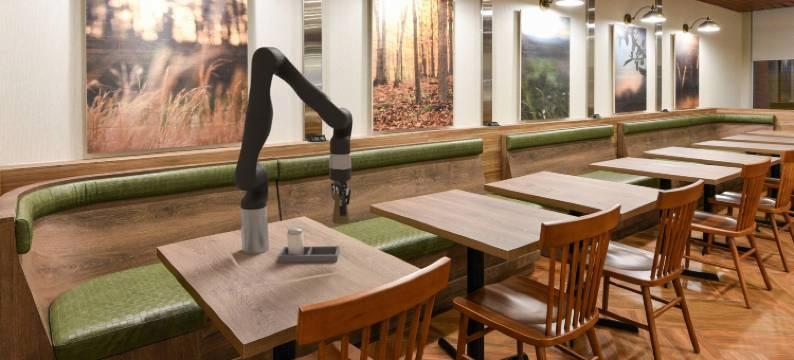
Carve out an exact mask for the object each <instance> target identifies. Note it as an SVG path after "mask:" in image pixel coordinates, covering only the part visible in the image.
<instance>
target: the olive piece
mask: <svg viewBox="0 0 794 360" xmlns="http://www.w3.org/2000/svg"><path fill="white" fill-rule="evenodd" d="M340 196H341V197H342V195H340ZM333 198H334V199H333V201H334V200H335V202H334V204H333V212H332V213H333V214H332V221H331V223H333V224H337V225H342V224H343V225H345V224H348V223H350V215H349V209H348V205H346V216H340V203H339V199H338V195H337V191H336V192H334V194H333ZM344 201H345V200H344Z"/></svg>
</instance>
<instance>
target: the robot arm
mask: <svg viewBox="0 0 794 360" xmlns="http://www.w3.org/2000/svg"><path fill="white" fill-rule="evenodd" d="M250 65H251V66H250V85H249V93H248V99H247V106H246V111H245V117H244V124H243V126H244V127H243V134H242V139H241V145H240V150H239V155H238V159H237V162H236V167H235V171H234V183H235V186H236V187H237V188H238V189H239V190H240V191H243V192H245V195H244V196H243V197H242V198H241V199H240V214H241V215H240V217H241V226H240V231H241V248H242V249H241V250H242V251H243V253H244V254H245V255H248V254H249V255H257V254H263V253H266V252H269V250H270V243H269V242H270V241H269V226H268V210H267V208H268V207H267V202H268V199H269V174H268V170H267V168H266V167H265V165H264V164H262V163H261V162H258V160H259V156H260V153H261V152H262V149H263V147H264V146H265V144H266V142H267V140H268V138H269V136H270V134H271V130H272V125H273V118H274V108H273V103H272V101H273V100H272V96H271V88H272V83H273V76H274V75H275V76H276V77H278V78H279V79H281V80H282V81H284V82H285V83H286V84H287V85H289V87H291V89H292V90H293V91H294V93H295V95H297V97H298V98H299V99H300V100H301V101H302V102H303V103H304V104H305V105H307V106H308V107H309V108H310V109H311V110H312V111H314V112H316V114H317V115H318V116H319V117H320V118H321V120H322V121H323V122H324V123H325V124H326V125H327V126H328V127H330V128H331V129H332V130H333V131H332V132H333V133H332V136H331V137H330V140H329V152H330V153H329V162H328V163H329V170H328V171H329V180H330V181H332V182H331V183H330V190H331V196H332V197H331V198H332V200H333V202H334V203H335V200H334V198H333V194H334V192H336V191H337V195H338V199H339V203H340V216H346V205H347V206H349V205H350V201H351V200H350V199H351V193H352V191H351V190H352V189H349V188H348V181H350V180H352V157H351V137H352V132H353V125H354V121H353V115H352V113H351V111H350V110H349V109H347V108H346V107H338V106H337V105H336V104H334V102H333V101H332V99H331V97H330V96H329V95H328V94H327V93H326V92H324V91H323V90H322V89H321V88H319V87H318V86H317V85H315V84H314V83H313V82H312V81H311V80H310V79H308V78H307V76H306V75H304V74H303V73H302V72H301V71H300V70H299V69H298V68H297V67H296V66H295V65H294V64H293V63H292V62H291V61H290V60H289V58H288V57H287V56H286V55H285V54H284V52H282V51H281V50H280V49H279V48H277V47H275V46H274V47H273V46H262V47H261V46H260V47H259V48H257V49H255V51H254V52H253V54H252V57H251V64H250ZM340 195H342V197H341V196H340ZM344 200H345V201H344Z"/></svg>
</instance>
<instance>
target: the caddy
mask: <svg viewBox="0 0 794 360" xmlns="http://www.w3.org/2000/svg"><path fill="white" fill-rule="evenodd" d="M340 252H341V247H340V245H338V246H337V245H332V246H331V245H326V246H325V245H321V246H318V245H317V246H316V245H314V246H313V245H312V246H311V245H310V246H305V245H304V255H288V246H283V248H282V249H281V251H280V253H279V254H278V256H277V257H278V259H277V260H278V263H327V262H330V263H335V262H338V260H339V255H340Z"/></svg>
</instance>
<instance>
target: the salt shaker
mask: <svg viewBox="0 0 794 360" xmlns="http://www.w3.org/2000/svg"><path fill="white" fill-rule="evenodd" d="M286 235H287V236H286V238H287V240H286V241H287V247H288V255H304V246H305V243H304V230H303V228H302V227H290V228H288V229H287V234H286Z"/></svg>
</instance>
